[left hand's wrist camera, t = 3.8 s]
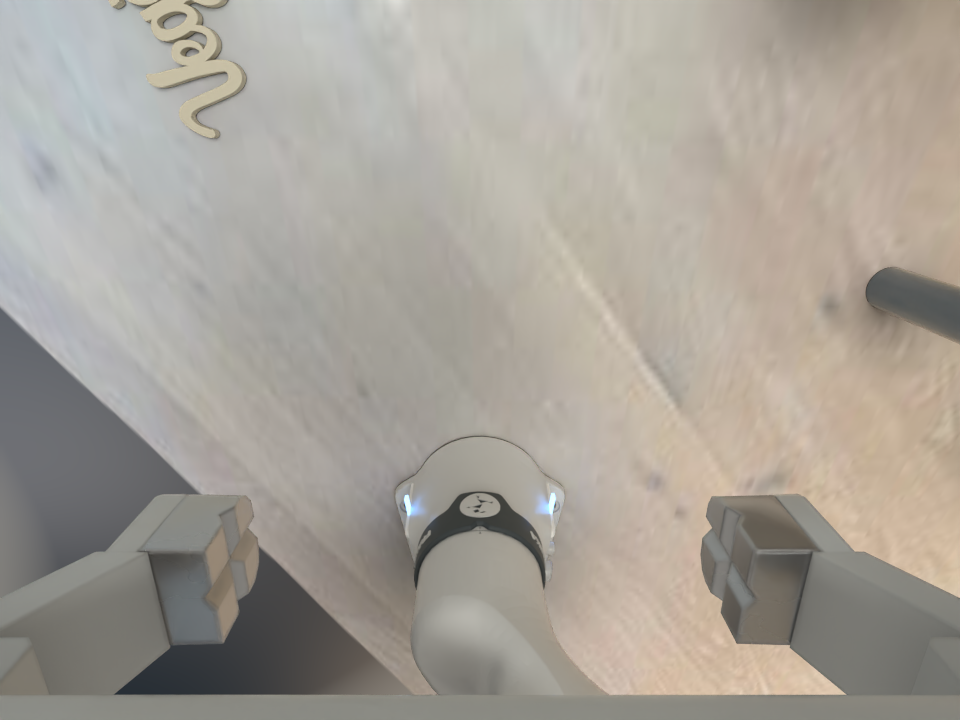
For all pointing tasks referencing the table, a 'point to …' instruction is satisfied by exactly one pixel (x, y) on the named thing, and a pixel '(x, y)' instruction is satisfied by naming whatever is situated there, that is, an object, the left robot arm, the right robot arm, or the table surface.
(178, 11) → the decorative sign
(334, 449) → the table surface
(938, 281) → the grey long cylinder
